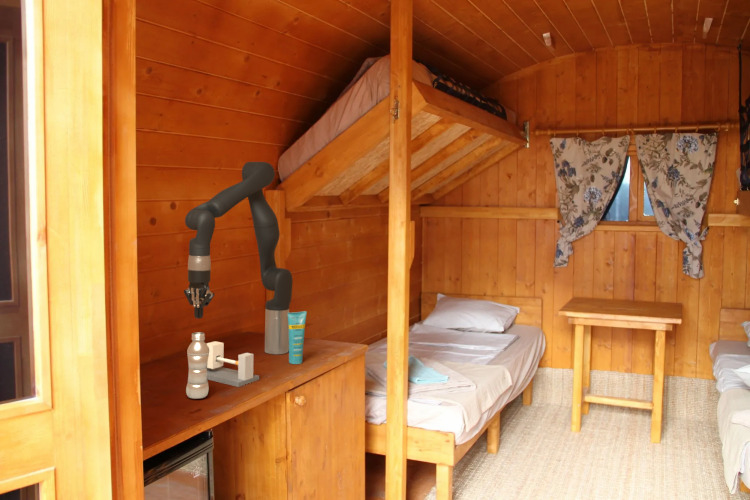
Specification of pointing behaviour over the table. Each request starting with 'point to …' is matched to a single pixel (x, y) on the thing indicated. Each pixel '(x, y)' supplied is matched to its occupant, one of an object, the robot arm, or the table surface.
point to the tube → (296, 336)
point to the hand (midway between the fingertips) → (198, 318)
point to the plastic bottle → (197, 367)
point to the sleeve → (215, 354)
